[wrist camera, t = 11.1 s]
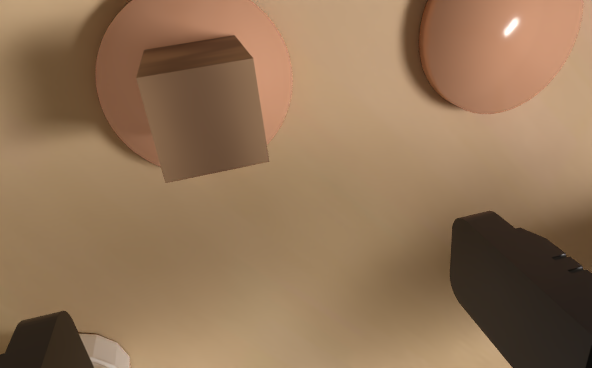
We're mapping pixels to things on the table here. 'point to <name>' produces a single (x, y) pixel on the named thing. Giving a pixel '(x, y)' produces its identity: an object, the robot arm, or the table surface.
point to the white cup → (105, 352)
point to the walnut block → (202, 107)
